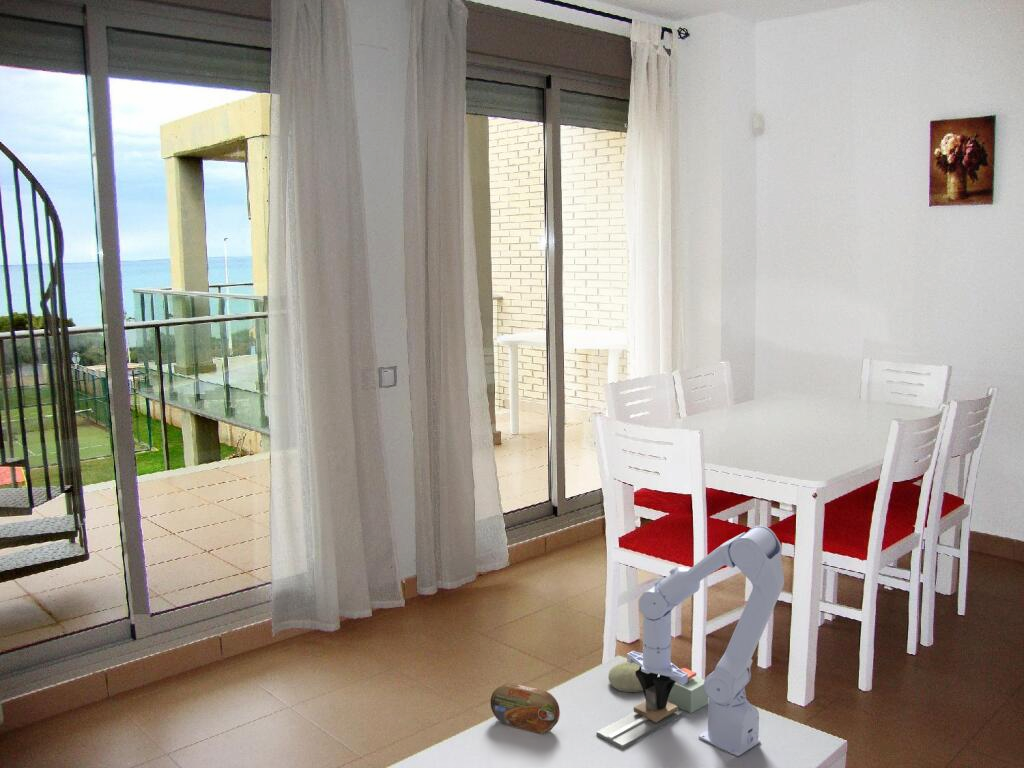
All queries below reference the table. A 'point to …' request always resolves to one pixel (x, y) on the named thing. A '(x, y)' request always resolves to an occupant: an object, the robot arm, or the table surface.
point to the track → (633, 728)
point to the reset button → (689, 674)
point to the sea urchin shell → (625, 677)
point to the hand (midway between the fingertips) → (656, 704)
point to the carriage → (654, 707)
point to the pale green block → (689, 695)
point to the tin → (525, 708)
